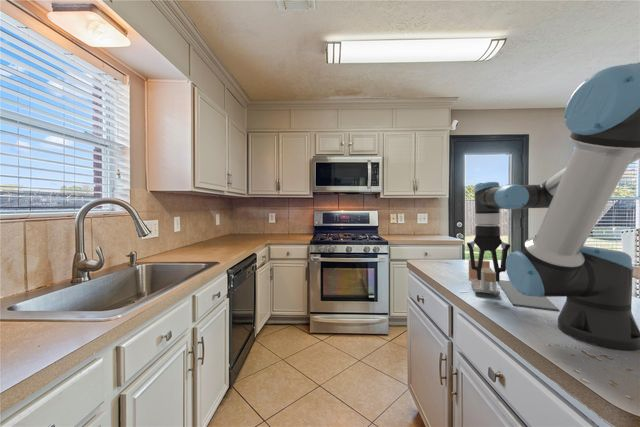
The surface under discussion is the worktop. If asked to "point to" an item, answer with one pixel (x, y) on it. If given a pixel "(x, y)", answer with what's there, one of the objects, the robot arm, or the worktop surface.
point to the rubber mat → (525, 298)
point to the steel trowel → (485, 282)
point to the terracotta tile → (473, 272)
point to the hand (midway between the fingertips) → (488, 289)
